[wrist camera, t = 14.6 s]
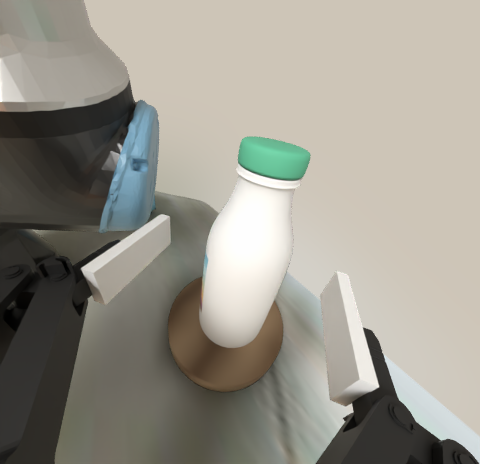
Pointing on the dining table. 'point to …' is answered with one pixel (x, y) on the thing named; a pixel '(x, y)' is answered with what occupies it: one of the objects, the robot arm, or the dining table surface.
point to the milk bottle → (251, 242)
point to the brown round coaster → (215, 356)
